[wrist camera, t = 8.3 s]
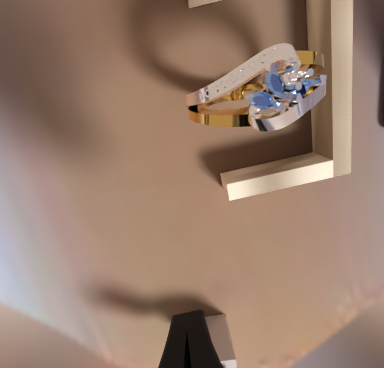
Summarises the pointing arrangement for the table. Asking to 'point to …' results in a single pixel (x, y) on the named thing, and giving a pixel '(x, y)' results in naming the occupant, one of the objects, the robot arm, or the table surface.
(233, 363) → the lighter
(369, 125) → the table surface
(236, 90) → the ring
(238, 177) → the keeper
